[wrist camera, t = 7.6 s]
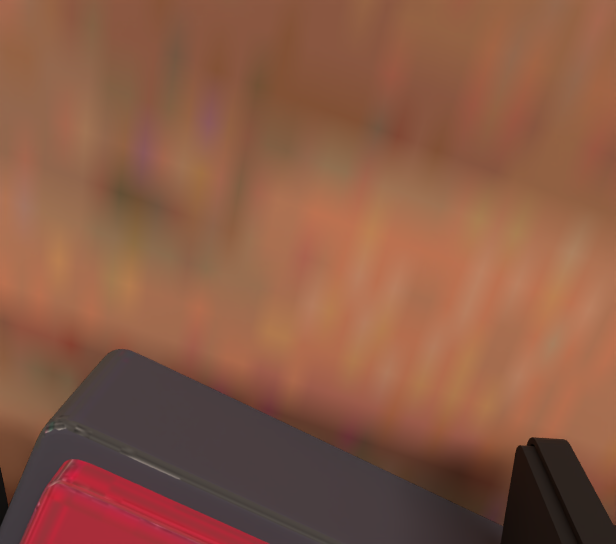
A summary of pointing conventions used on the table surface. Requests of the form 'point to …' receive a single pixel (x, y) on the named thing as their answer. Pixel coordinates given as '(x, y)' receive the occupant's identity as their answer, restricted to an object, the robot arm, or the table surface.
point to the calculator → (208, 475)
